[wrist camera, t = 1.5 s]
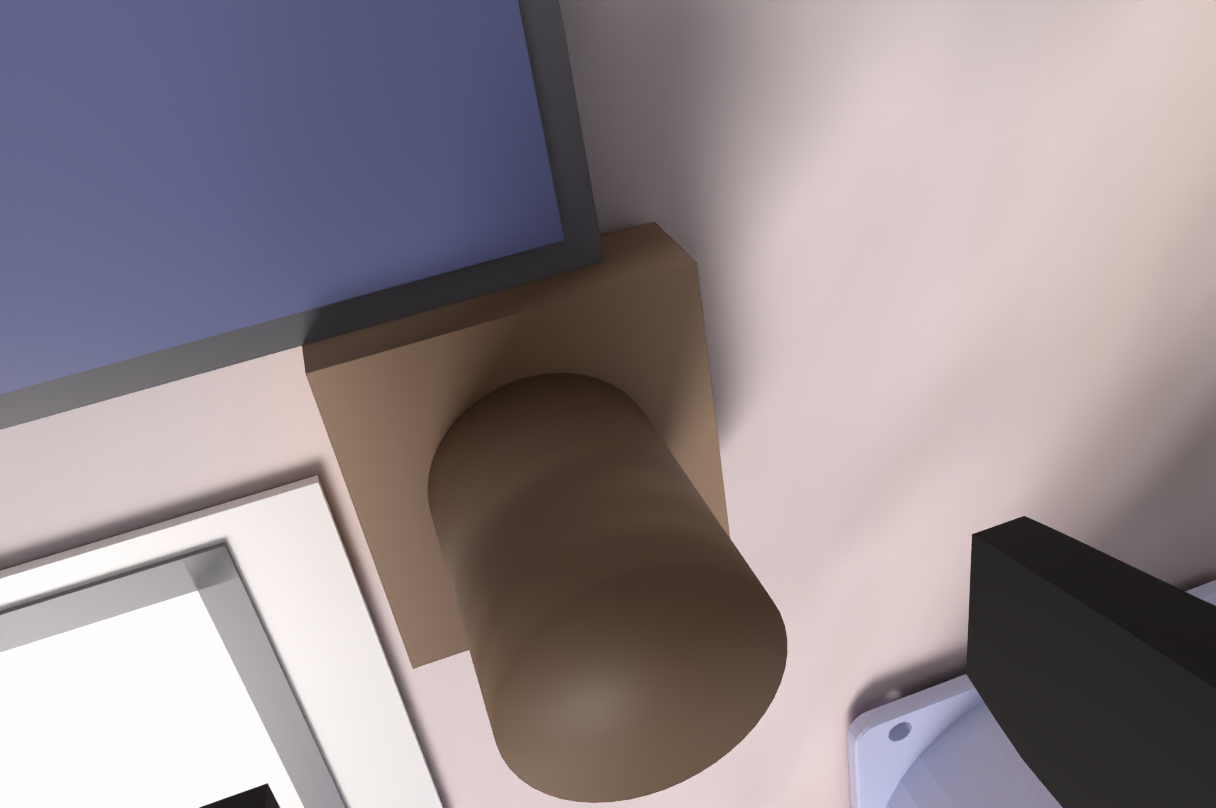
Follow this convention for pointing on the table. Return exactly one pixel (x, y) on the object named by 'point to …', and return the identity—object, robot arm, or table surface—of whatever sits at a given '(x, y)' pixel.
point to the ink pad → (268, 178)
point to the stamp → (562, 516)
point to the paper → (203, 669)
